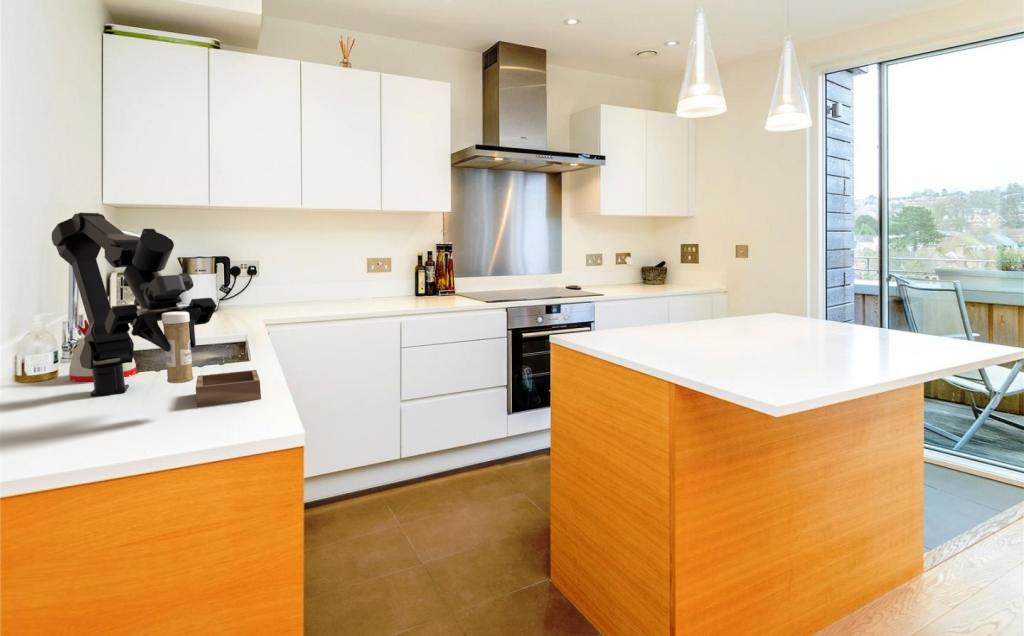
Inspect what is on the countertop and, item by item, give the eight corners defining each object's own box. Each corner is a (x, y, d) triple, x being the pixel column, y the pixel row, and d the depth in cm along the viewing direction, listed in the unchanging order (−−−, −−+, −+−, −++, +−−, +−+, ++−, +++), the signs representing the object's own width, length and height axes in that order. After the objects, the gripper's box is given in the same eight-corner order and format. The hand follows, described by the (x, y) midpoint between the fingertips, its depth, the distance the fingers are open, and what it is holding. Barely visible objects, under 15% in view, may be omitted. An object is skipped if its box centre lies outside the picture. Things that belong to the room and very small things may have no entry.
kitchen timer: (75, 374, 149) (68, 317, 147) (138, 368, 155) (132, 313, 153) (65, 385, 137) (58, 323, 135) (134, 378, 143) (128, 319, 141)
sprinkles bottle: (195, 381, 111) (190, 312, 109) (168, 385, 108) (163, 314, 106) (191, 377, 115) (186, 310, 113) (165, 380, 112) (159, 312, 110)
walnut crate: (198, 393, 128) (197, 375, 127) (257, 386, 133) (256, 369, 133) (197, 406, 117) (195, 387, 117) (261, 398, 123) (259, 380, 122)
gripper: (105, 261, 103) (140, 328, 98) (208, 258, 118) (242, 315, 114) (90, 302, 108) (123, 367, 104) (191, 294, 124) (223, 350, 119)
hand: (181, 348), depth 110 cm, fingers closed on sprinkles bottle, 4 cm apart
